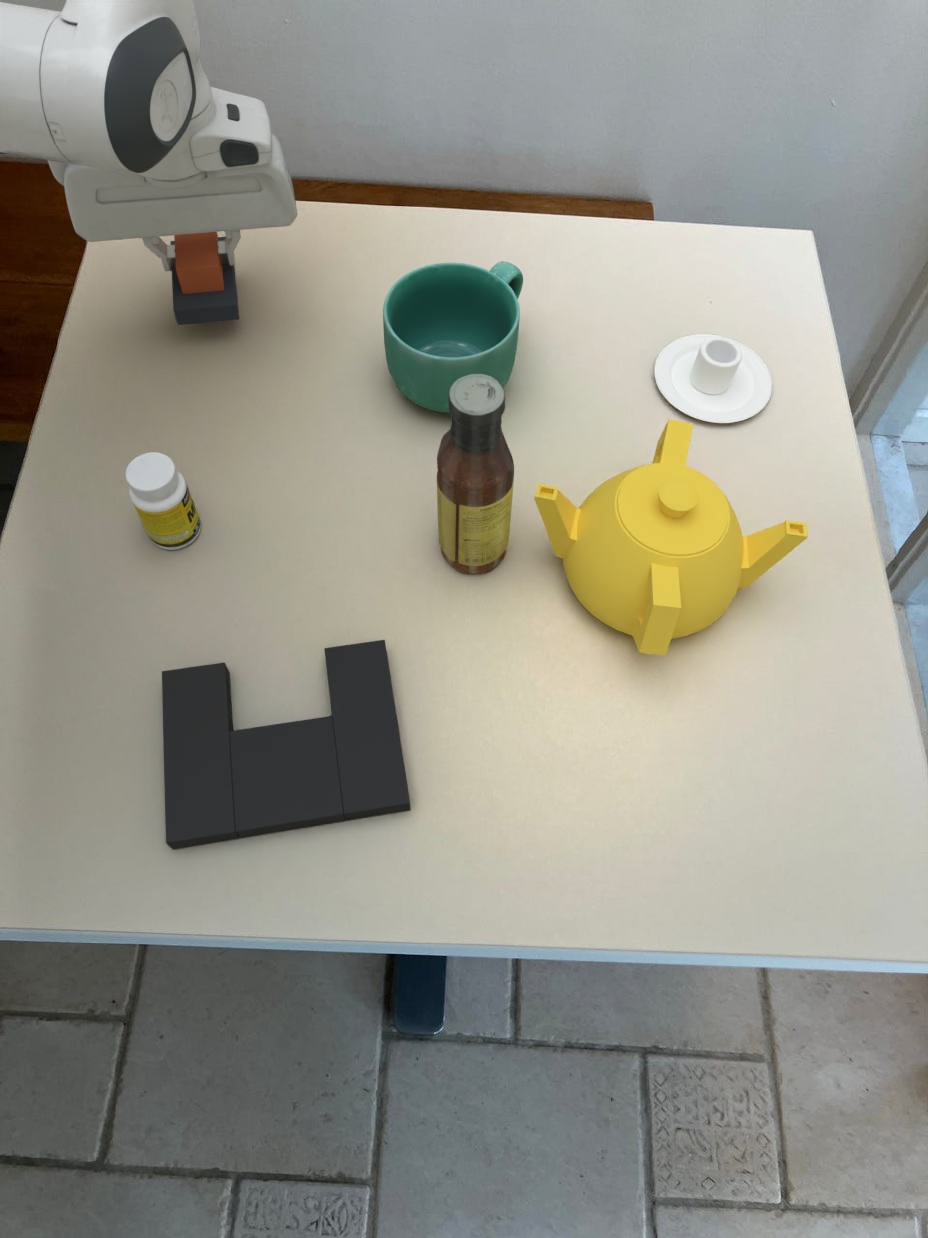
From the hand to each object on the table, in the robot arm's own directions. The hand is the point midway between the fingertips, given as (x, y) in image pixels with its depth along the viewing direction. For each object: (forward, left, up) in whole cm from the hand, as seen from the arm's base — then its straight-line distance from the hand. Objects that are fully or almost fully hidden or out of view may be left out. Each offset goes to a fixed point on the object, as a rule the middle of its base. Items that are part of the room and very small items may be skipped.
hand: (200, 264), depth 87 cm
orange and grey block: (0, 0, -3) cm, 3 cm away
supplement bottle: (-5, -27, -6) cm, 28 cm away
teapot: (+36, -38, -6) cm, 53 cm away
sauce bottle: (+21, -33, -6) cm, 40 cm away
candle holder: (+49, -17, -6) cm, 53 cm away
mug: (+24, -12, -6) cm, 28 cm away
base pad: (+3, -49, -6) cm, 50 cm away
